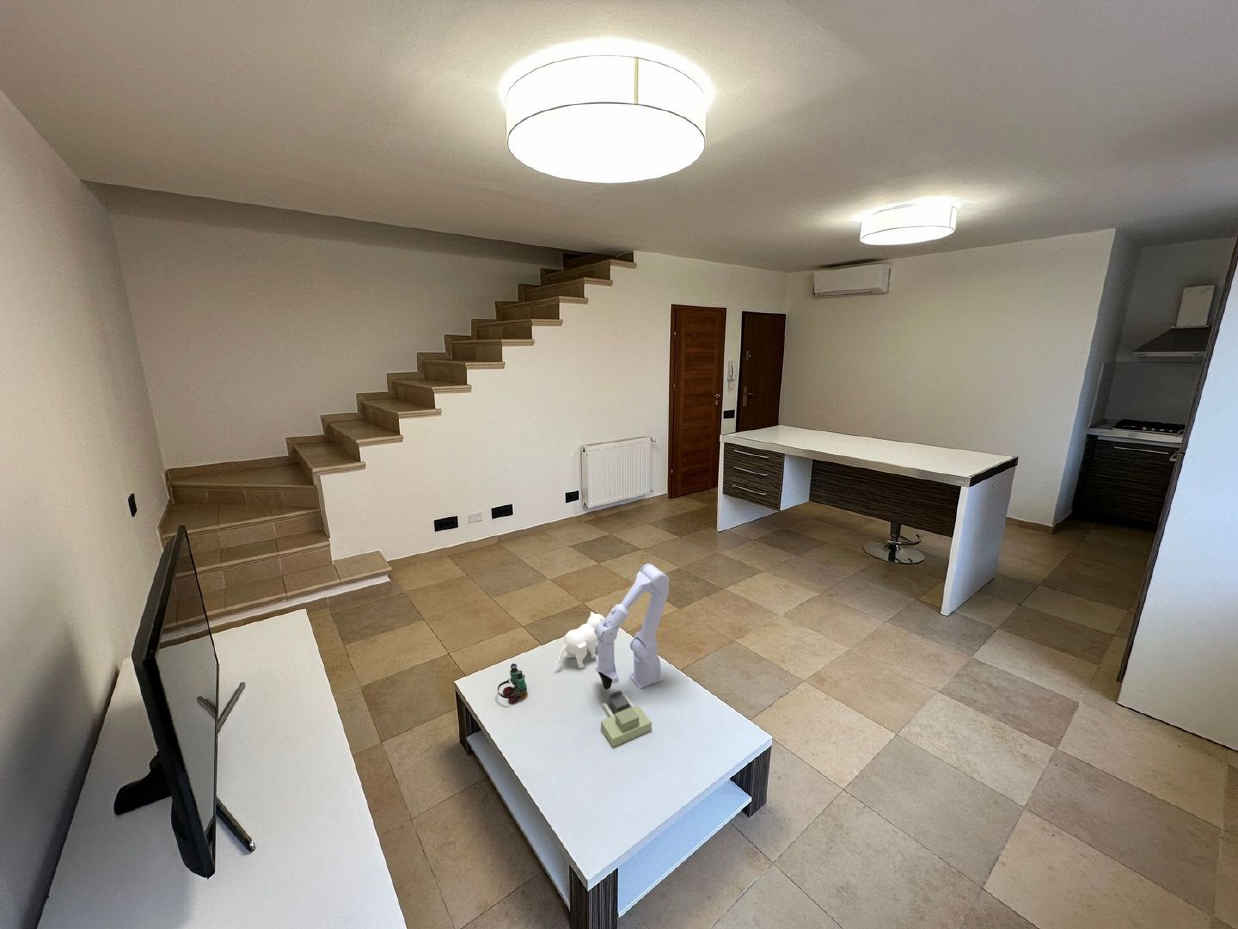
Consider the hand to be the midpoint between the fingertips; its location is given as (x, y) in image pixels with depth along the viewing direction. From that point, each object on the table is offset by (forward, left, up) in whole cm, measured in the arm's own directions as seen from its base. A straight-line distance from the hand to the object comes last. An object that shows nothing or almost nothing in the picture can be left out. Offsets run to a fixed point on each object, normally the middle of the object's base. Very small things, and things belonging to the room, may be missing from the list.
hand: (607, 688), depth 173 cm
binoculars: (+30, -15, -2) cm, 34 cm away
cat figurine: (0, -22, -2) cm, 22 cm away
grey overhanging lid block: (0, +9, -2) cm, 9 cm away
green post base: (+2, +14, -2) cm, 14 cm away
